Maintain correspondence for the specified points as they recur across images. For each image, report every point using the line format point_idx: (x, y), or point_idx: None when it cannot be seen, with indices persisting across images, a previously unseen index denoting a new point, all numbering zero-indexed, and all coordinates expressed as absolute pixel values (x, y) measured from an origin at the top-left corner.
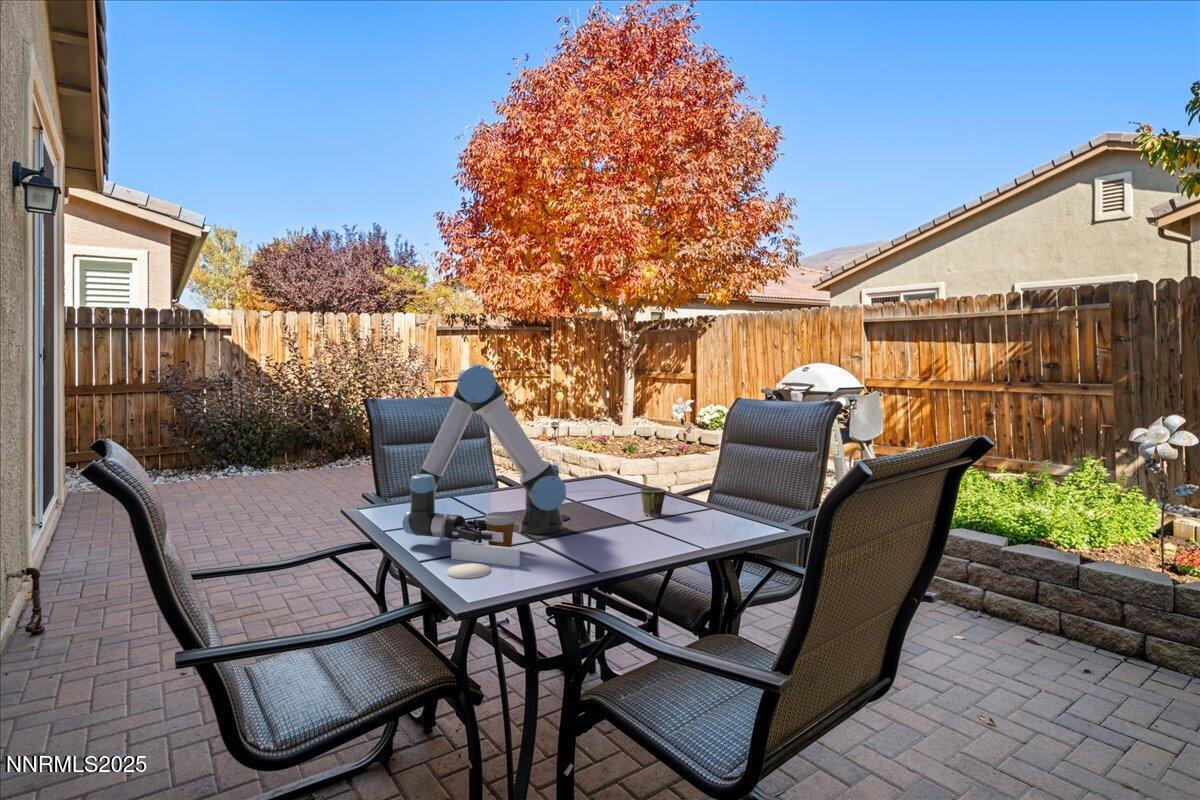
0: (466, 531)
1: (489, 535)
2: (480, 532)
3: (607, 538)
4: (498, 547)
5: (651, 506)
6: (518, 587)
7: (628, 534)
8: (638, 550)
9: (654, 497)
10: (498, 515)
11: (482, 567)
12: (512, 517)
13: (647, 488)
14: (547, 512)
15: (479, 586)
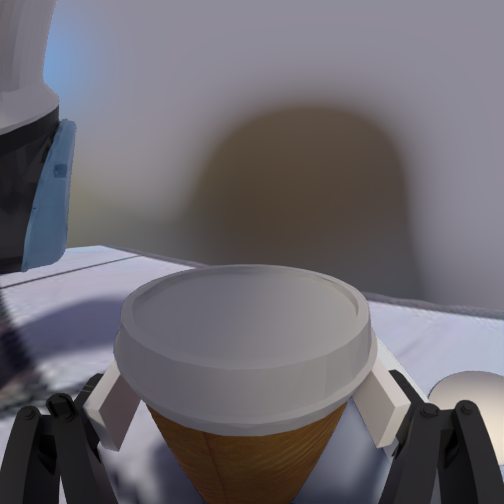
0: (492, 471)
1: (398, 373)
2: (429, 403)
3: (69, 302)
4: (395, 359)
5: None
6: (434, 317)
7: (54, 289)
8: (149, 278)
9: None
10: (228, 315)
11: (447, 404)
12: (249, 270)
13: None
14: None
15: (490, 346)
